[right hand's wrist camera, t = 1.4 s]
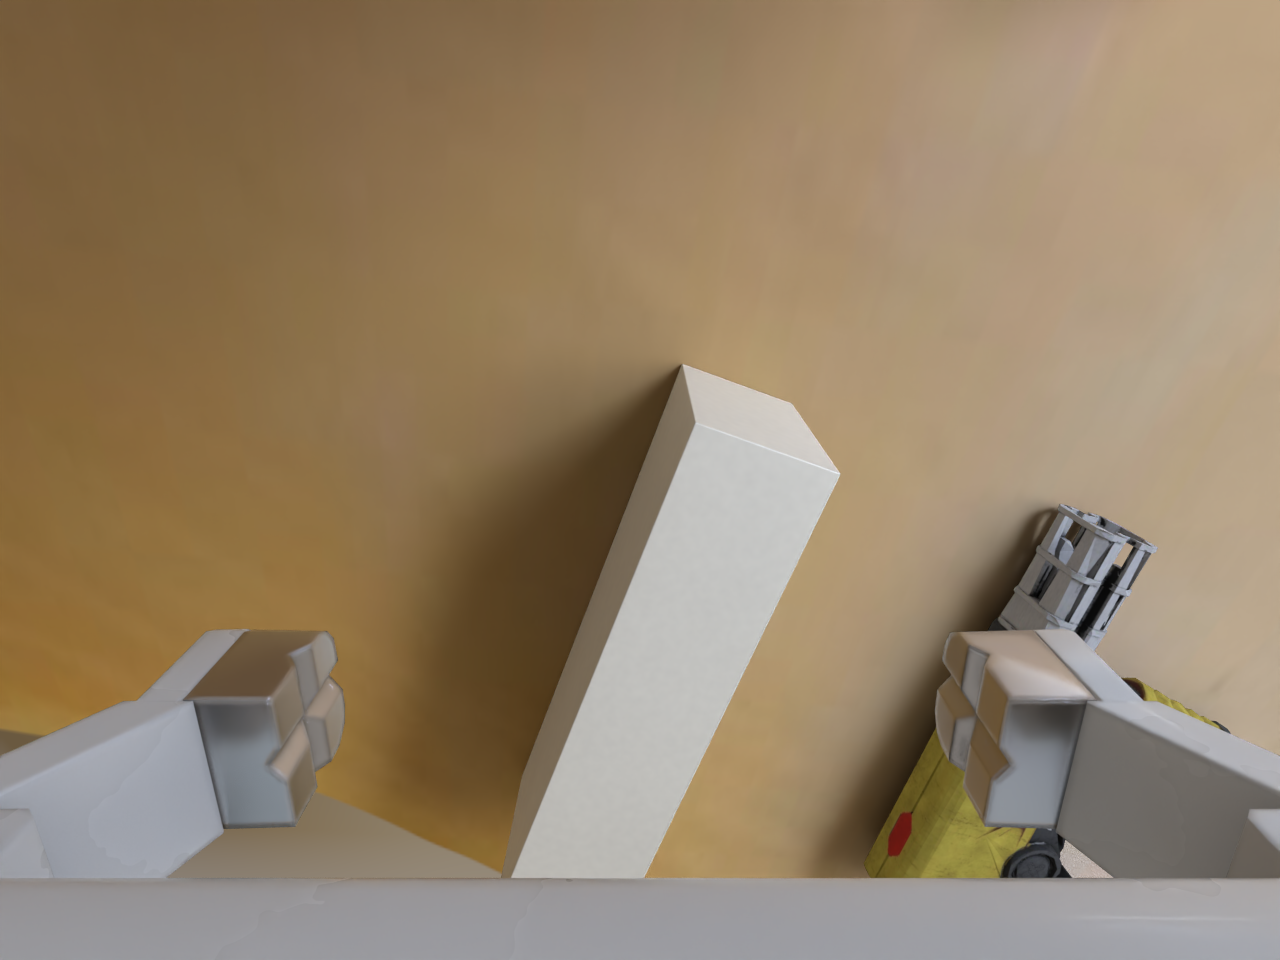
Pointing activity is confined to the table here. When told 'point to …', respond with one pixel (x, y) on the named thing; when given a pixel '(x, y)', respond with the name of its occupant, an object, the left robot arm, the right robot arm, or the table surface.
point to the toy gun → (934, 795)
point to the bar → (668, 628)
